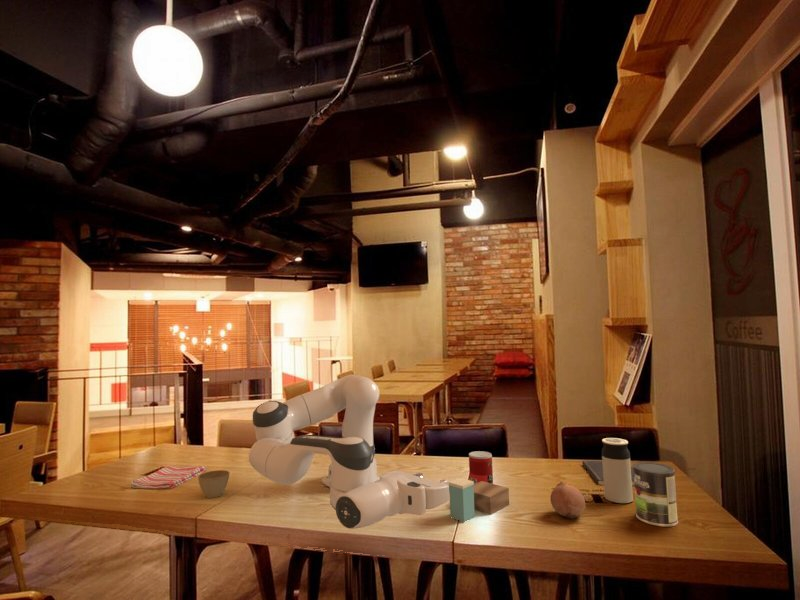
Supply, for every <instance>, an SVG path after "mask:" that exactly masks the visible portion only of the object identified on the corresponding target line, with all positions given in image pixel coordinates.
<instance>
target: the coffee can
mask: <svg viewBox="0 0 800 600" xmlns="http://www.w3.org/2000/svg"><path fill="white" fill-rule="evenodd" d="M632 468H633V469H634V484H635V486H634V496H635V497H634V498H635V516H636V518H637V519H638V520H639V521H641V522H642V523H645V524H648V525H651V526H656V527H661V528H662V527H664V528H665V527H666V528H667V527H668V528H669V527H675V526H677V525H678V524H679V520H678V508H677V507H678V505H677V493H676V491H677V490H676V489H677V488H676V476H675V473H676V470H675V468H674V467H672V466H670V465H667V464H663V463H658V462H650V461H649V462H647V461H640V462H635V463H633V464H632Z"/></svg>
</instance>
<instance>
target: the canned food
mask: <svg viewBox="0 0 800 600" xmlns="http://www.w3.org/2000/svg"><path fill="white" fill-rule="evenodd" d="M468 465H469V467H468V468H469V469H468V470H469V480H470V481H474V484H476V483H478V482H481V481H484V482H487V483H491V484H494V475H493V474H494V471H493V455H492V453H491V452H489V451H483V450H482V451H480V450H478V451H476V450H475V451H471V452H469V453H468ZM474 484H473V485H474Z"/></svg>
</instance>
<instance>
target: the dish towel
mask: <svg viewBox="0 0 800 600" xmlns="http://www.w3.org/2000/svg"><path fill="white" fill-rule="evenodd" d="M205 471H207V466H206V465H205V466H204V465H203V466H202V465H201V466H188V467H187V466H186V467H183V466H182V467H178V466H166V467H163V468H160V469H158V470H157V471H155V472H154V473H151V474H149V475H145V476H142V477H139V478H137V479H132V481H131V482H130V484H131V488H132V489H134V488H135V489H145V490H146V489H155V490H157V489H158V490H159V489H168V490H170V489H171V490H172V489H174V488H177V487H178V486H180V485H182V484H184V483H185V482H188V481H191V480H192V479H194V478H195V477H198V476H199V475H201V474H203V473H205Z"/></svg>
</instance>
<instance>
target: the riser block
mask: <svg viewBox="0 0 800 600" xmlns="http://www.w3.org/2000/svg"><path fill="white" fill-rule="evenodd" d="M473 487H474V511H478V512H481V513H484V514H487V513H488V514H487V515H491V516H492V515H493V514H495V513H497V512H498V511H501V510H503V509H504V508H506V507H508V506H510V488H509V487H506V486H503V485H498V484H495V483H493V484H491V483H487V482H484V481H481V482H478V483H476V484H474V485H473Z"/></svg>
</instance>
